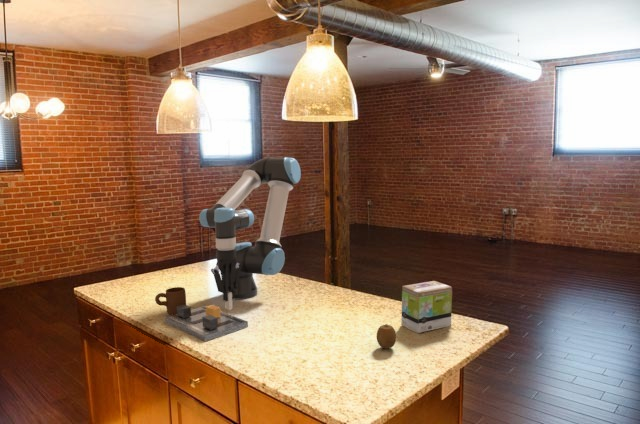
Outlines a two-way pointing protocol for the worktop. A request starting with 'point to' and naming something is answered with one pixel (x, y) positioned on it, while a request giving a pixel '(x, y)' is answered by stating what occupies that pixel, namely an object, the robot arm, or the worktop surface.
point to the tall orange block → (213, 311)
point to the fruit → (386, 336)
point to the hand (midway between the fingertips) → (228, 308)
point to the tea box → (426, 306)
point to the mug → (172, 299)
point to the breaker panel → (200, 325)
